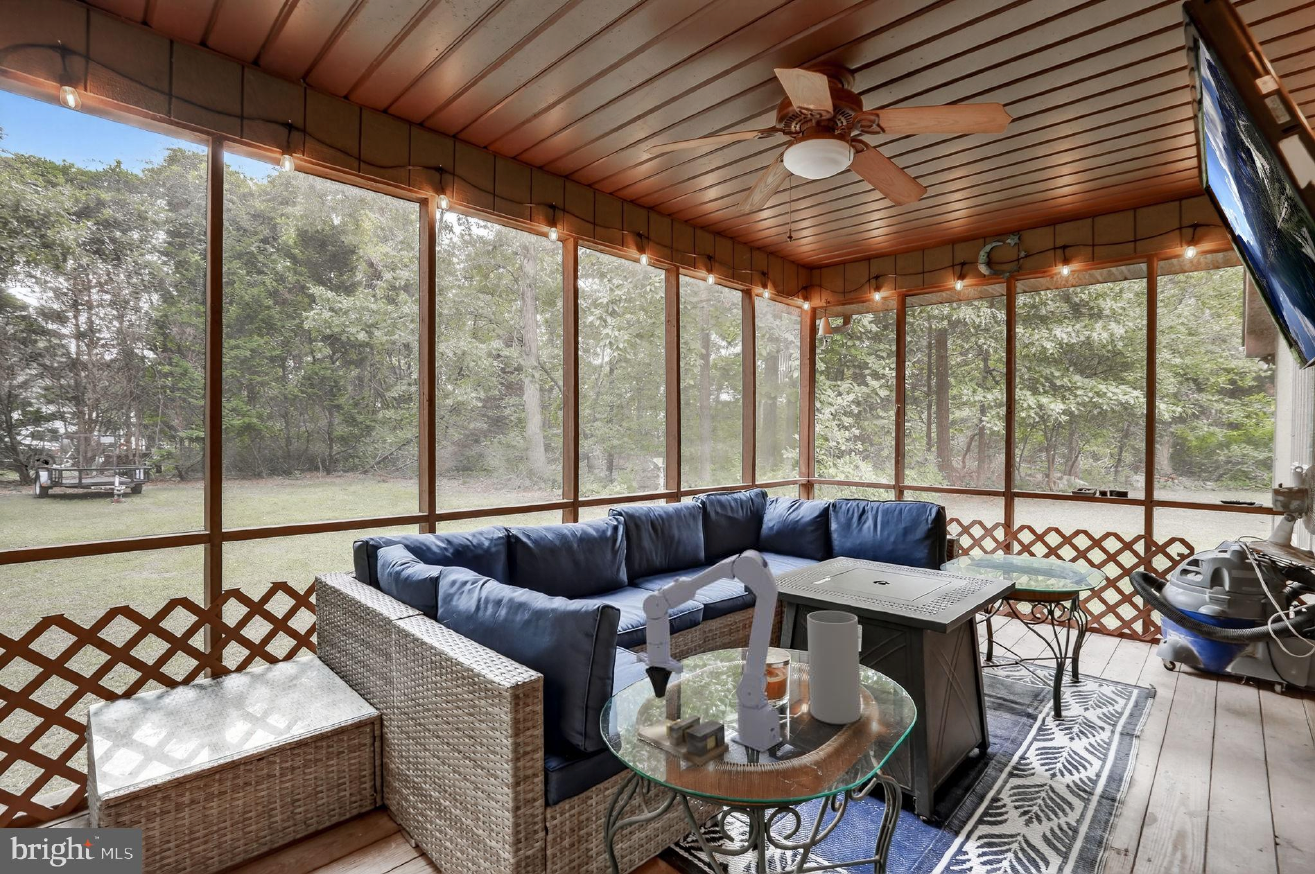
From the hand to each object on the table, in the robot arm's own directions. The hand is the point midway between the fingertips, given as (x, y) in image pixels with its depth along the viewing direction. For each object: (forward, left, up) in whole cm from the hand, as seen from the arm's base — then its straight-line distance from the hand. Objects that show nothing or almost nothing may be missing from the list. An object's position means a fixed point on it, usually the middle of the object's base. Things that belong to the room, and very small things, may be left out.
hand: (660, 696), depth 158 cm
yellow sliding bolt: (-12, +2, -7) cm, 14 cm away
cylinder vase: (-27, -36, -9) cm, 46 cm away
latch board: (-9, +2, -8) cm, 12 cm away
